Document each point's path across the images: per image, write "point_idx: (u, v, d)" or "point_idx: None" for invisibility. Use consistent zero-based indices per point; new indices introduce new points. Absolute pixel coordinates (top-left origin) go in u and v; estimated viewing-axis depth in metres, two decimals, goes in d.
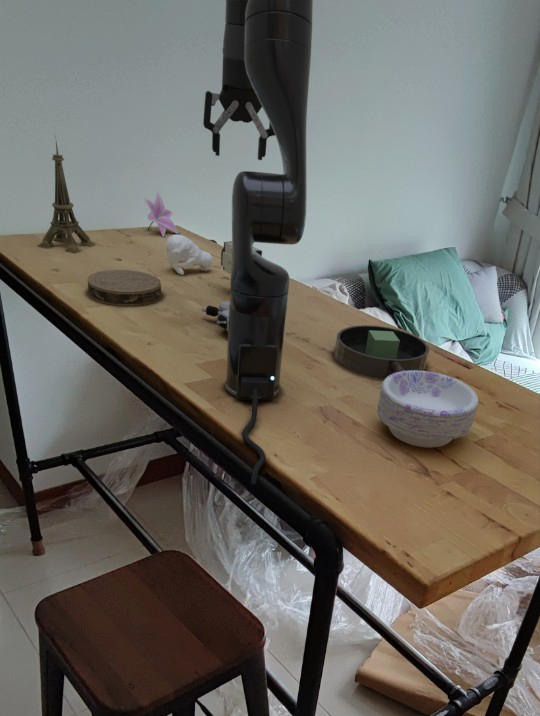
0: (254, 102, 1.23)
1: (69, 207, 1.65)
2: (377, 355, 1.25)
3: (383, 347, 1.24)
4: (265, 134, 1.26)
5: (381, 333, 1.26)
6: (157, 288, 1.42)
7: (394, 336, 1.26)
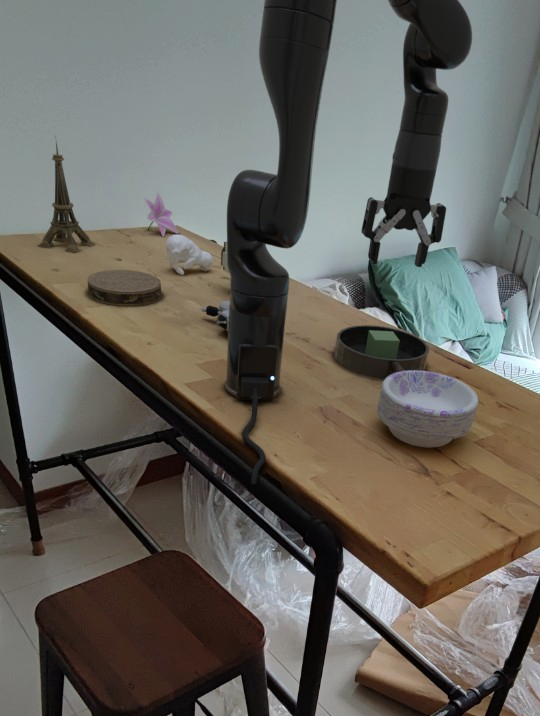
0: (421, 209, 1.12)
1: (69, 207, 1.65)
2: (377, 355, 1.25)
3: (383, 347, 1.24)
4: (429, 241, 1.15)
5: (381, 333, 1.26)
6: (157, 288, 1.42)
7: (394, 336, 1.26)
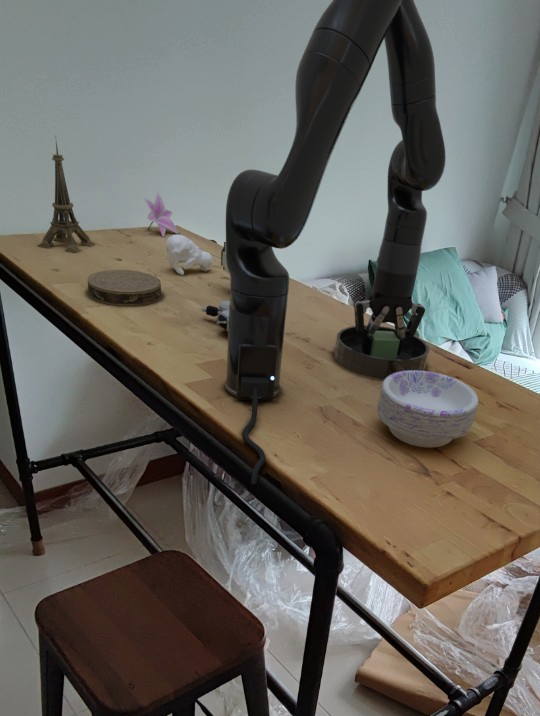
0: (404, 306, 1.21)
1: (69, 207, 1.65)
2: (377, 355, 1.25)
3: (383, 347, 1.24)
4: (403, 337, 1.25)
5: (381, 333, 1.26)
6: (157, 288, 1.42)
7: (394, 336, 1.26)
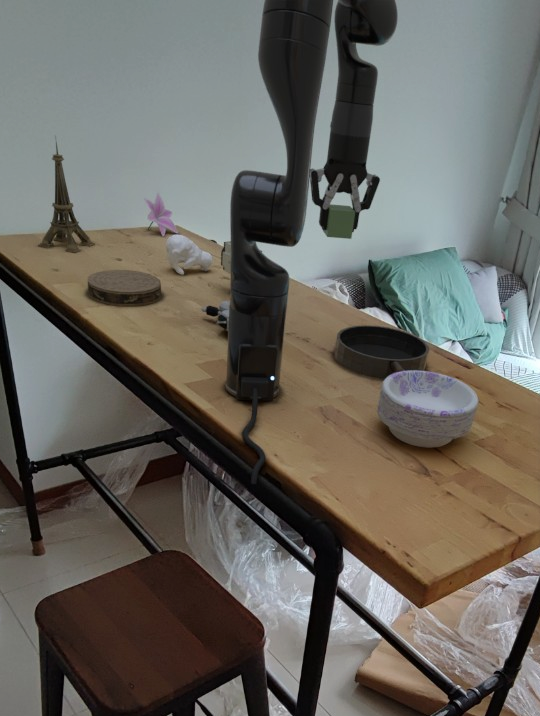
0: (358, 174, 1.23)
1: (69, 207, 1.65)
2: (333, 227, 1.27)
3: (339, 218, 1.26)
4: (359, 208, 1.27)
5: (338, 206, 1.28)
6: (157, 288, 1.42)
7: (350, 208, 1.27)
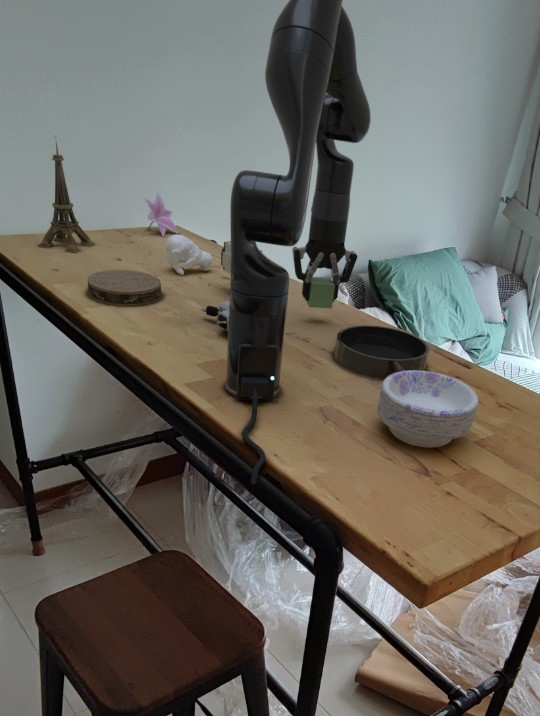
0: (337, 252, 1.34)
1: (69, 207, 1.65)
2: (315, 298, 1.38)
3: (320, 290, 1.37)
4: (338, 282, 1.37)
5: (319, 279, 1.39)
6: (157, 288, 1.42)
7: (330, 281, 1.38)
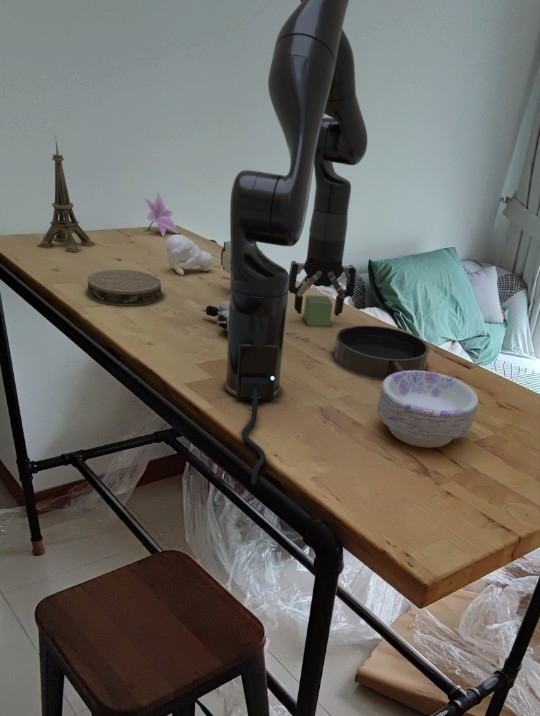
0: (335, 270, 1.36)
1: (69, 207, 1.65)
2: (313, 317, 1.40)
3: (318, 309, 1.39)
4: (343, 296, 1.39)
5: (317, 297, 1.41)
6: (157, 288, 1.42)
7: (328, 300, 1.41)
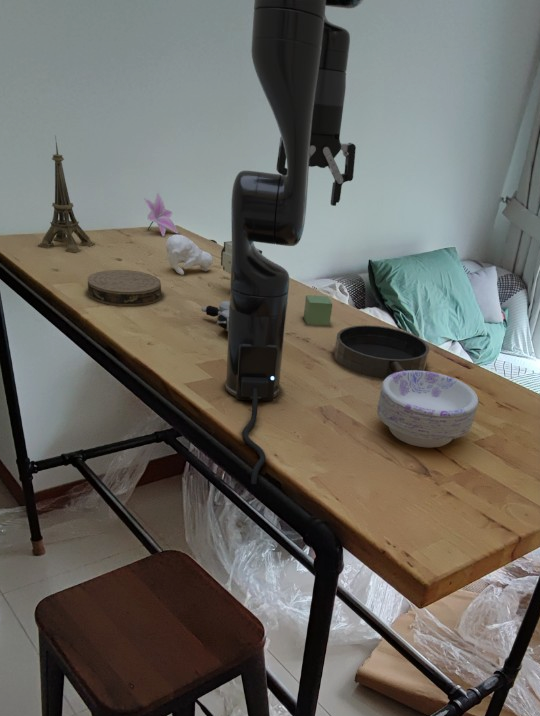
0: (331, 147, 1.17)
1: (69, 207, 1.65)
2: (313, 317, 1.40)
3: (318, 309, 1.39)
4: (341, 179, 1.20)
5: (317, 297, 1.41)
6: (157, 288, 1.42)
7: (328, 300, 1.41)
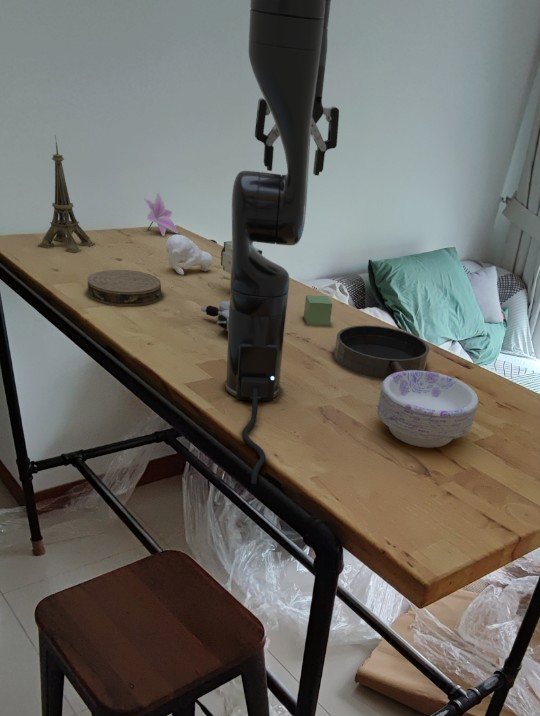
0: (313, 111, 1.09)
1: (69, 207, 1.65)
2: (313, 317, 1.40)
3: (318, 309, 1.39)
4: (324, 147, 1.13)
5: (317, 297, 1.41)
6: (157, 288, 1.42)
7: (328, 300, 1.41)
